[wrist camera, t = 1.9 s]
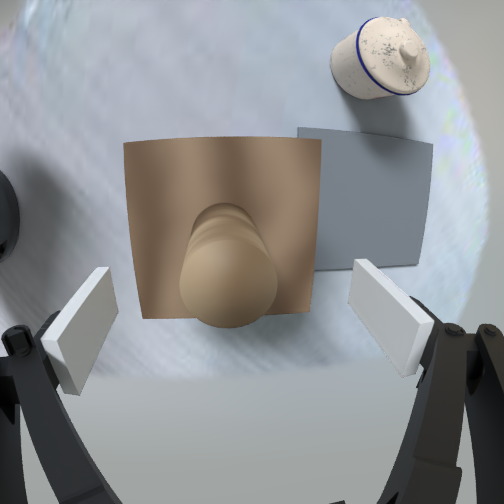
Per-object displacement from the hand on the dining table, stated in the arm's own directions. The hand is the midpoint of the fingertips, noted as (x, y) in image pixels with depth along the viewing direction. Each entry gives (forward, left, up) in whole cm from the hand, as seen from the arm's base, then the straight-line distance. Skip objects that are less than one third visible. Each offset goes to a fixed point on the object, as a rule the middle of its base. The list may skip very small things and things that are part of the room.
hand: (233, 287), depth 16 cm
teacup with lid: (+18, +19, -22) cm, 34 cm away
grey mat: (+19, 0, -22) cm, 29 cm away
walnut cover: (0, 0, -10) cm, 10 cm away
